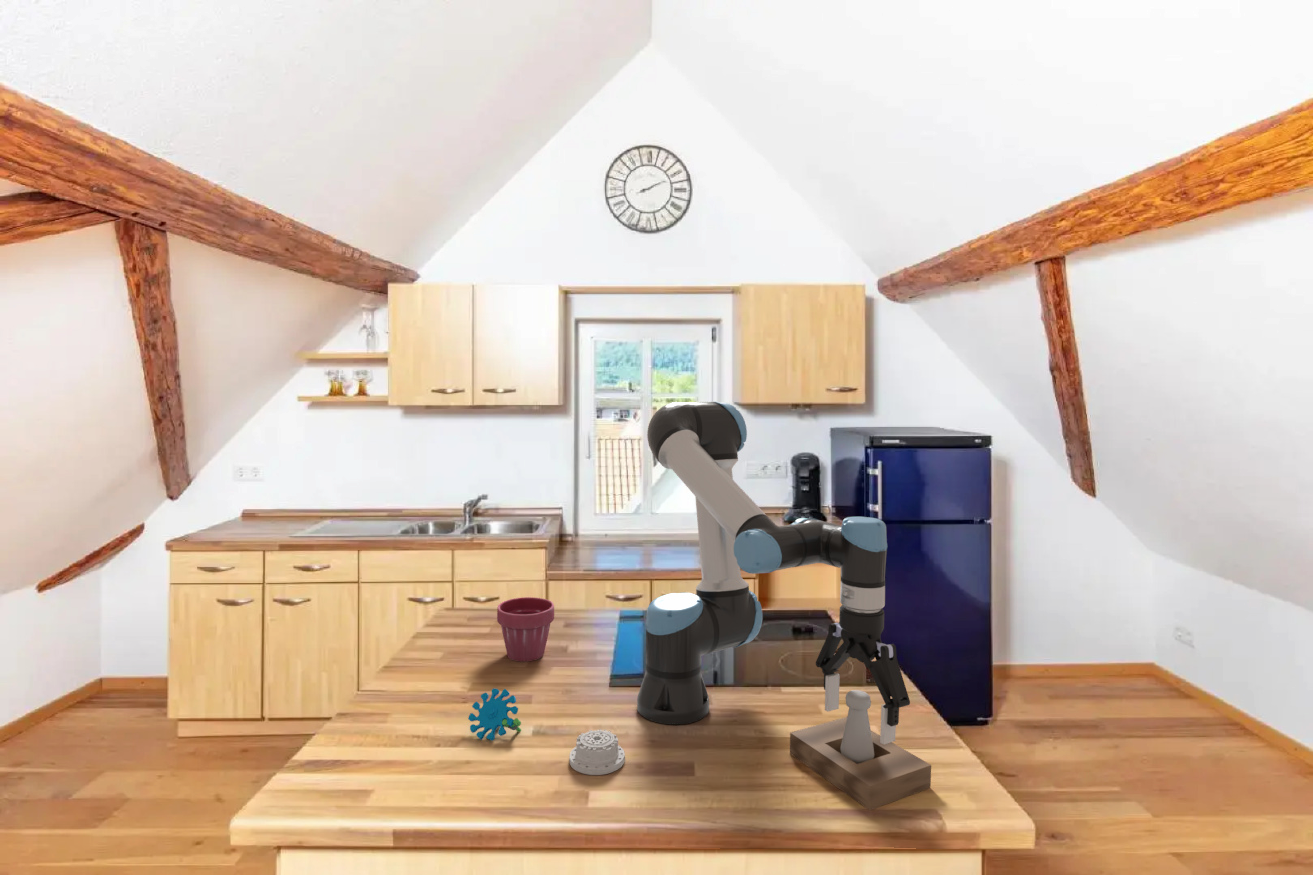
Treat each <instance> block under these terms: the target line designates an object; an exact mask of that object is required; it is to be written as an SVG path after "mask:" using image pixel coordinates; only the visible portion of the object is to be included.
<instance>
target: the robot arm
mask: <svg viewBox="0 0 1313 875" xmlns="http://www.w3.org/2000/svg"><path fill="white" fill-rule="evenodd" d="M646 432H647V433H646V434H647V435H646V436H647V437H646V438H647V443H648V447H649V449H650V451H651V453H652V455H653V456H654V458H655V459H656V460H657V461H658V463H660V465H661V466H662V467H663V468H665V469H668V470H671V471H673V473H674V474H675V475H676V476H677V477H678V478H679V479H680V481H682V483H683V484H684V485H685V486H686V488H688V490H689V491H690V492H691V493H692V494H693V495H694V496H695V506H696V507H695V508H696V518H697V531H698V544H699V545H698V546H699V555H700V558H699V559H700V570H701V580H700V582H699V583H698V584H697V585H696V587H695V592H696V593H695V594H694V593H692V592H678V593H677V592H672V593H671V592H670V593H667V594H663V595H661V596H658V597H655V598H654V599H653V600H652V601H651V602H650V603H649V604H648V606H647V610H646V618H645V623H644V625H645V626H644V627H645V673H644V676H643V679H642V681H641V684H640V688H639V691H638V693H637V699H636V701H637V702H636V703H637V704H636V710H637V713H639V715H640V716H641V717H643V718H644V719H646V720H649V721H651V722H653V723H657V724H665V725H685V724H691V723H694V722H695V723H696V722H698V721H700V720H702V719H703V718H705V717H706V716H707V715H708V714H709V712H710V711H709V710H710V698H709V694H708V691H707V688H706V684H705V682H704V681H705V680H704V677H703V675H702V656H704V655H708V654H711V653H715V652H721V651H723V650H727V649H733V648H739V647H741V646H742V645H745V644H749V643H750V642H752V641H753V640H755V638H756V637H757V636H758V634H759V633H760V630H761V627H762V625H763V624H762V623H763V608H762V605H761V602H760V601H759V600H758V596H757V595H756V594H755V593H754V592H753V591H751V590H750V588H749V586H750V585H749V583H748V582H747V581H746V580H745V579H743V577H742V572H741V570H743V571H744V572H745V573H748V574H751V575H754V574H769V573H773V572H775V571H780V570H785V569H791V568H797V567H803V566H809V565H814V564H824V565H828V566H832V567H835V568H840V587H839V588H840V593H839V597H840V598H839V600H840V601H839V603H840V604H841V606H839V615H838V616H839V618H838V619H839V621H838V622H834V623H830V624H829V625H828V630H827V631H828V633H827V636H826V638H825V641H824V642H823V645H822V648H821V650H820V652H819V654H818V656H817V658H816V661H815V666H816V667H817V668H820V669H821V672H822V673H823V690H824V691H825V692H824V711H826V712H831V711H835V710H839V709H840V708H839V707H840V702H839V701H840V675H841V674H839V673H838V672H839V671H840V670H839V669H840V668H841V666H842V665H843V664H844V663H845V662H846V661H847V660H848V659H849V658H852V659H855V660H858V661H859V662H860V663H862V664H864V666H865V668H866V669H868V670H869V671H870V675H872V678H873V680H874V683H875V684H876V687H877V689H878V690H879V693H880V695H881V697H882V699H883V701H884V704H881V705H880V706H881V708H880V709H881V710H880V734H879V735H880V743H882V744H883V745H884V744H887V743H890V742H892V743H894V742H896V734H897V733H896V732H897V731H896V730H897V729H896V728H897V726H898V725H899V723H900V722H899V721H900V720H899V719H900V718H899V716H900V708H903V707H907V706H910V704H911V701H910V697H909V692H908V690H907V688H906V684H905V681H904V680H905V679H903V674H902V672H901V668H900V665H899V661H898V658H897V646H896V644H894V643H890V644H886V643H883V642H882V639H881V634H882V632H884V630H885V610H884V609H883V608H884V607H885V605H886V578H885V577H886V565H887V564H886V563H887V554H888V553H887V552H888V542H887V541H888V538H887V525H886V523H885V522H884V521H883V520H882V519H879V518H876V517H871V516H870V517H869V516H868V517H867V516H847V517H845V518H844V519H843V520H842V523H841V525H840V524H836V523H833V522H829V521H828V522H827V521H823V520H820V519H818V518H806V517H805V518H804V517H801V518H797V519H796V520H795V521H794V522H792V523H790V524H787V525H777V524H775V522H774V521H773V520H772V519H771V518H770V517H769V516H768V515H767V514H766V513H765V511H764V510H762V509H761V508H760V507H759V506H758V505H757V503H755V501H754V500H753V499H752V498H751V497H750V496H749V495H748V493H746V492H745V491H744V490H743V489H742V488H741V487H740V486H739V485H738V483H737V482H735V480H734V479H733V477H734V476H733V467H734V466H736V463H737V462H738V461H739V456H738V455H739V454H738V453H739V452H740V451H741V450H742V449H743V448H744V446H745V442H747V437H748V431H747V424H746V422H745V419H744V416H743V415H742V413H741V412H740V410H738V409H737V408H736V407H735V406H734V405H733V404H730V403H727V402H718V401H700V402H699V401H697V402H696V401H695V402H694V401H693V402H683V401H678V402H677V401H674V402H670V403H668V404H665V405H663V406H662V407H660V408H659V409H658V410H656V411H655V413H654V414H653V415H652V417H651V419H650V421H649V423H648V426H647V431H646ZM841 640H842V644H841V645H840V643H841ZM838 646H839V647H838ZM874 659H875V660H874Z"/></svg>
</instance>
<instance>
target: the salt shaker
mask: <svg viewBox="0 0 1313 875" xmlns="http://www.w3.org/2000/svg"><path fill="white" fill-rule="evenodd" d="M845 704H846V706H847V708H848V710H847V711H848V712H847V716H846V717H847V721H846V725H845V730H844V734H843V739H842V743H841V754H842V755H844V756H845V757H847V758H848V759H850V760H852V761H853V762H855V763H856V764H859V763H862V762H865V761H868V760H872V759H873V758H874V755H875V754H874V748H873V742H872V736H871V731H872V730H871V724H870V718H869V712H868V710H869V709H870V708H871V705H872V700H871V696H870V694H868V693H867V692H866V691H863V690H861V689H860V690H859V689H852V690H849V691H848V692H847V693H846V695H845Z"/></svg>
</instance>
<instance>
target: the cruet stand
mask: <svg viewBox="0 0 1313 875" xmlns="http://www.w3.org/2000/svg"><path fill="white" fill-rule="evenodd" d="M846 721H847V716H845V717H841V718H838V719H835V720H831V721H827V722H826V721H825V722H822V723H821V724H816V725H812V726H809V727H806V728H805V727H804V728H802V729H798V730H796V731H795V730H794V731H791V732H789V755H790V756H791V755H792V757H793V758H795V759H796V760H798V761H800V762H801V763H802V764H804V765H805V766H806V767H808V768H810V769H811V770H812V771H813V772H815V773H816V774H817V775H819V776H821V777H822V778H823V779H825V780H826V781H828V783H831V784H832V785H833V786H835V787H836V788H838V789H839V790H840V791H842V792H843V793H844V794H846V795H848V796H849V797H850V798H852V799H853V800H854V801H856V802H857V803H859V804H860V805H862V806H863V807H864V808H865V809H867V810H868V811H872V810H874V809H877V808H880V807H882V806H885V805H888V804H890V803H893V802H896V801H899V800H901V799H904V798H906V797H910V796H912V795H915V794H917V793H920V792H923V791H926V790H928V789H930V788H931V787H932V786H931V783H932V782H931V781H932V780H931V778H932V764H930V763H928V762H927V761H925V760H924V759H922V758H920V757H918V756H916V755H915V754H913V753H911V752H909V751H908V750H906V749H904V748H902V747H901V746H899V745H897V744H896V743H894V742H890V743H887V744H884V745H883V744H882V743H880V734H878V733H876V732H875V731H873V730H871V736H872V742H873V748H874V754H875V755H874V758H873V759H872V760H868V761H865V762H862V763H859V764H856V763H855V762H853V761H852V760H850V759H848V758H847V757H845V756H844V755H842V754H841V743H842V739H843V734H844V730H845V725H846Z"/></svg>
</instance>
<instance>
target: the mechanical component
mask: <svg viewBox="0 0 1313 875" xmlns="http://www.w3.org/2000/svg"><path fill="white" fill-rule="evenodd" d="M575 741H576V744H575V745H576V746H574V747H573V748H572V749H571V750H570V753H569V756H568V757H569V765H570V766H571V768H572V769H573V770H575V771H576V772H578V773H579V774H584V775H589V776H603V775H607V774H611V773H614V772H616V771H617V770H620V768H622V766H623V765H624V764H625V761H626V754H625V752H626V751H624V748H622V747H621V745H619V738H618V737H617V734H614V733H612V732H611V731H610V730H606V729H603V730H602V729H601V728H600V729H599V728H598V730H593V729H589V730H588V731H586V732H585V733H584V732H581V733H580V734H579V735H577V738H576V740H575Z"/></svg>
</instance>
